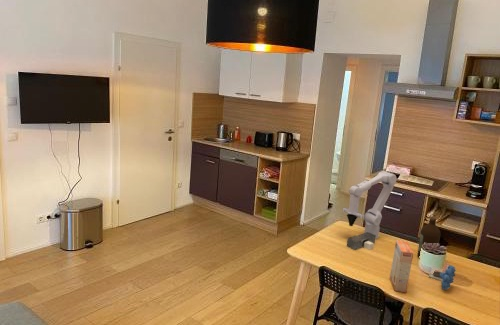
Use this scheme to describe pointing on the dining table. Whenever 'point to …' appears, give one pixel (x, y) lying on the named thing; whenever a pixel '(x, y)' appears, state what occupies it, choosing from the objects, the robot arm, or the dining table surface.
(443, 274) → the grapes
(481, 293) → the dining table surface
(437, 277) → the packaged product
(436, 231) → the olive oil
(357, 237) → the housing
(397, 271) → the cracker box
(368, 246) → the plug
